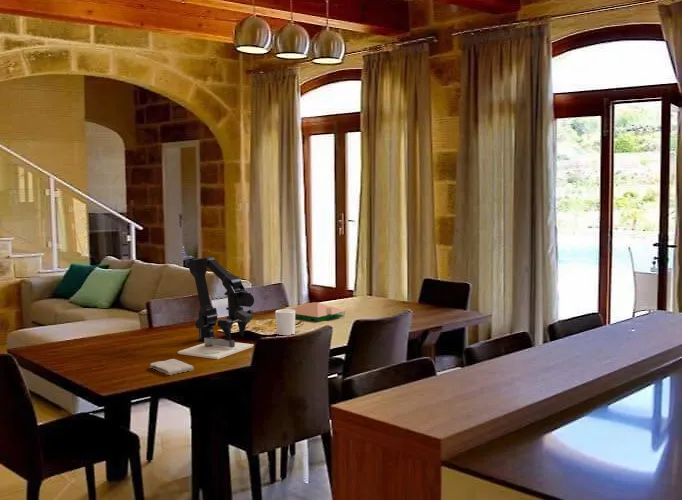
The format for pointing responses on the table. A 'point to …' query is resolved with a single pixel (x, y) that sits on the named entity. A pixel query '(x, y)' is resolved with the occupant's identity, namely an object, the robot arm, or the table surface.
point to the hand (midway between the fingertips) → (235, 338)
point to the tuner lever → (218, 342)
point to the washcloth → (171, 366)
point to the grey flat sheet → (214, 350)
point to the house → (318, 311)
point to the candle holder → (285, 321)
